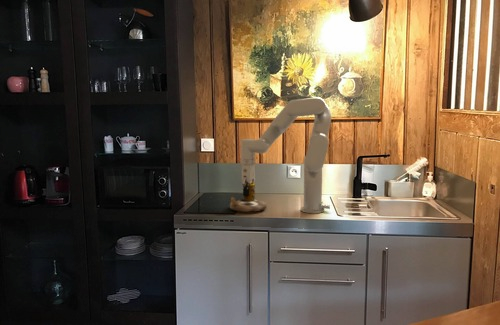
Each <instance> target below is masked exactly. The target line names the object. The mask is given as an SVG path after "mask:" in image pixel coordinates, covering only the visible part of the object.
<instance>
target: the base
mask: <svg viewBox="0 0 500 325" xmlns="http://www.w3.org/2000/svg"><path fill="white" fill-rule="evenodd" d="M239 212H241V213H256V212H257V211H239Z"/></svg>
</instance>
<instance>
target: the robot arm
mask: <svg viewBox="0 0 500 325" xmlns="http://www.w3.org/2000/svg"><path fill="white" fill-rule="evenodd" d="M331 113H332V112H331V109H330V108H329V106H328V105H327V103H326V102H325V100H324V99H323V98H321V97H318V96H315V97H309V98H300V99H291V100H290V101H288V102H287V103H286V105H285V106H284V107H283V108H282V110H280V112H279V113H278V114H277V116H276V117H275V118H274V119H273V120H272V121H271V123H270V125H269V127H267V129H266V130H264V132H263V133H262V134H261V136H260V137H259V138H258V139H252V138H243V139H241V140H240V165H241V183H242V196H243V197H244V196H249V189H248V188H249V184H251V183H252V179H254V182H255V181H256V169H255V168H256V167H255V165H256V154H264V153H266V152H268V150H269V149H270V148H271V147H272V145H273V144H274V143H275V142H276V140H277V139H279V138H280V136H281V135H282V134H284V133H285V132H286V131H288V130H287V129H288V128H290V126H291V125H292V124H293V123H294V122H295V121H296V119H298V117H307V116H313V117H314V122H313V127H312V130H311V132H310V133H311V134H310V137H309V139H308V140H309V143H308V147H307V150H306V151H307V152H306V155H305V156H304V159H303V206H301V207H300V211H301V212H303V213H306V214H321V213H324V212H325V210H326V209H327V210H330V209H331V205H330V204H324V202H323V199H322V197H323V194H322V192H323V167H324V166H325V160H326V157H327V154H328V148H329V138H328V137H329V134H330V133H329V132H330V129H331V124H332V114H331ZM246 182H248V183H246Z"/></svg>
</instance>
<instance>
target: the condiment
mask: <svg viewBox="0 0 500 325" xmlns="http://www.w3.org/2000/svg"><path fill="white" fill-rule="evenodd" d="M246 183H248V182H246ZM255 188H256V187H255V181H254V179H252V183H251V184H249V188H248V189H249V196H243V198H242V199H241V198H240V199H238V201H241V202H244V203H246V202H253V201H258V200H257V199H256V195H255V194H256V190H255Z"/></svg>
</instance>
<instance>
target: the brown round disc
mask: <svg viewBox="0 0 500 325" xmlns="http://www.w3.org/2000/svg"><path fill="white" fill-rule="evenodd" d="M236 199H237V198H236V197H231V198H230V203H229V209H230V210H233V211H236V212H240V211H256V212H258V211H264V210H265V209H267V202H266V201H263V200H258V201H253V202H246V203H244V202H241V201H239V200H236Z"/></svg>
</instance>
